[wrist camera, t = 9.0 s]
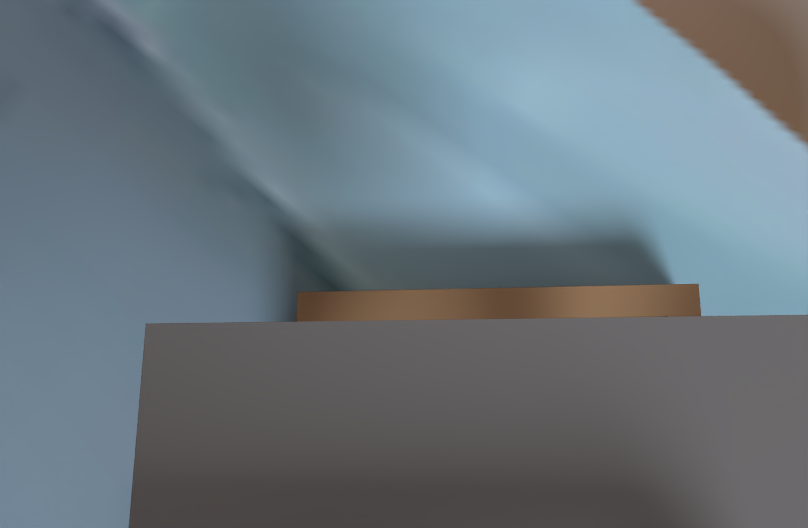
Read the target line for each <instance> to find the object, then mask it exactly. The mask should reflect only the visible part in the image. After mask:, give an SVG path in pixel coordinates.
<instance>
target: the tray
mask: <svg viewBox="0 0 808 528" xmlns="http://www.w3.org/2000/svg"><path fill="white" fill-rule="evenodd" d="M685 316H701V309H700V297H699V285H698V284H669V285H620V286H571V287H522V288H473V289H424V290H375V291H326V292H297V318H296V322H308V321H384V320H459V319H534V318H610V317H685Z"/></svg>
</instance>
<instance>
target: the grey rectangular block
mask: <svg viewBox="0 0 808 528" xmlns="http://www.w3.org/2000/svg"><path fill="white" fill-rule="evenodd" d="M129 528H808V315H761V316H685V317H610V318H534V319H459V320H384V321H308V322H233V323H158V324H146V327H145V339H144V351H143V363H142V375H141V387H140V399H139V411H138V423H137V435H136V447H135V459H134V471H133V483H132V495H131V507H130V519H129Z"/></svg>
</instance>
